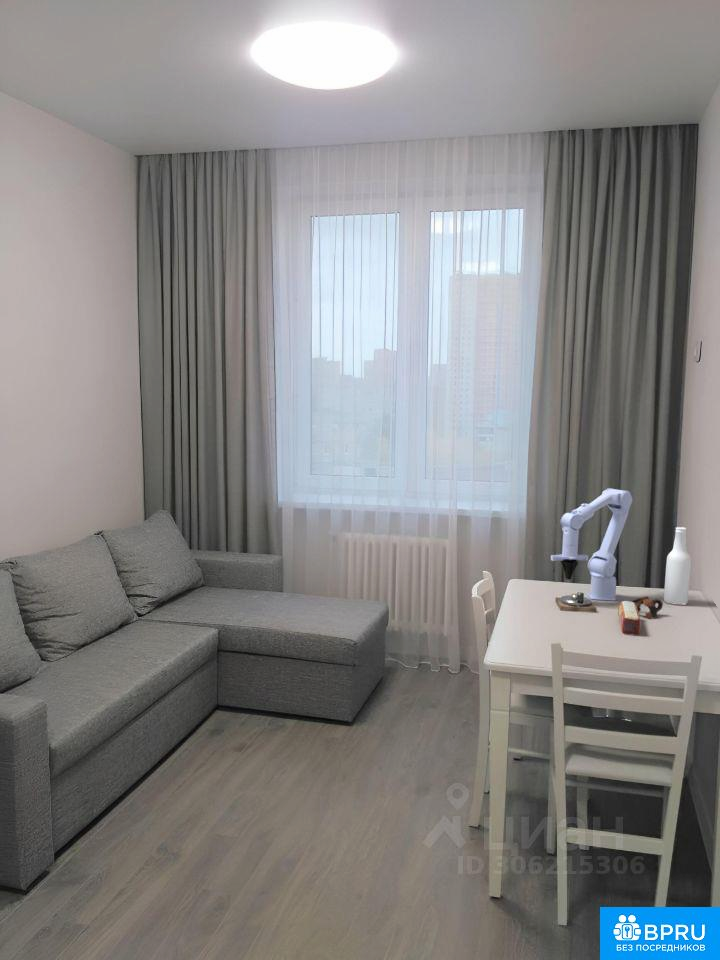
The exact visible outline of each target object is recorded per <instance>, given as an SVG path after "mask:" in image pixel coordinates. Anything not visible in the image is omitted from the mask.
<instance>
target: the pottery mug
mask: <svg viewBox="0 0 720 960" xmlns="http://www.w3.org/2000/svg"><path fill="white" fill-rule="evenodd" d="M630 602H634V603H635V604H636V605H637V609H638V613H640V612H641V610H642V609H641V605H642V604H643V605H644V606H645V607H647V608H648V610H649V611H648V612H645V613H644V614H645V616H646V619H647V618H650V619H653V618H657V617H658V613H659V611H660V610H662V608H663V606H664V603H663V601H662V599H659V598H655V599H650V598H649V595H646V596H645V595H644V596H642V597H638V598H636V599H632V600H630ZM656 604H657V606H656Z"/></svg>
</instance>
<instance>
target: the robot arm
mask: <svg viewBox="0 0 720 960" xmlns="http://www.w3.org/2000/svg"><path fill="white" fill-rule="evenodd" d="M633 500H634V499H633V497H632V495H631V492H630V491H629V490H621V489H615V488H611V487H608V488H606V489H605V490H603V491H602V493H601V495H599V496H598V497H597V498H596V499H594V500H593V501H591V502H590V503H582V504H580V506H579V507H577V508H575V509H573V510H572V511H571V512H565V513H564V514H563V515H562V516H561V518H560V522H559V523H560V525H561V530H562V546H561V547H562V549H561V554H560V553H559V554H551V555H550V561H552V562H557V561H560V563H561V565H562V568H563V571H564V575H565V579H566V580H572V577H573V574H574V571H575V570H576V568H577V567H578V565H579V562H578V561H588V562H587V570H588V571H589V574H590V575H591V577H590V591H589V593H587V596H588V597H589V599H590V600H596V601H597V600H598V601H601V600H602V601H616V593H617V578H616V576H613V575H614V574H615V572H616V565H617V562H618V561H617V559H616V557H615V556H614V553H615V551H616V548H617V545H618V543H619V540H620V539H621V538H620V537H621V535H622V532H623V530H624V526H625V523H626V521H627V518H628V516H629V512H630V508H631V506H632V503H633ZM605 506H607V507H608V508H609V510H610V511H611V512H612V516H611V519H610V521H609V524H608V526H607V529H606V531H605V535H604V537H603V540H602V542H601V545H600V547H599V550H597V551H596V552H593V554H592V556H591V558H590V559H589V555H587V554H578V549H579V548H578V547H579V533H580V532H579V530H580V529H581V528H582V527H583V524H584V523H585V522H586V521H587V520H589V519H591V518H593V516H594V515H595V512H596V511H598V510H601V508H603V507H605Z"/></svg>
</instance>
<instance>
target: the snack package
mask: <svg viewBox="0 0 720 960" xmlns="http://www.w3.org/2000/svg"><path fill="white" fill-rule="evenodd" d="M630 601H631V600H630ZM630 601H629V600H623V601H620V602H619V603H618V607H617V616H618V620H619V621H618V622H619V624H620V628H621V632H622V634H624V635H629V634H634V635H633V636H636V635H635V634H637V635H639V633H640V632H641V629H642V620H641V617H640V614H639V613H640V612H638V609H637V605H636V604H635V603H634V602H630Z"/></svg>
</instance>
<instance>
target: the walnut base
mask: <svg viewBox="0 0 720 960" xmlns="http://www.w3.org/2000/svg"><path fill="white" fill-rule="evenodd" d="M555 603H556V605H557V607H558V608H559V610H560V611H565V612H566V611H568V612H580V613H581V612H583V613H584V612H585V613H597V608H596V606H595V604H594V603H593V601H591V604H590V605H588V606H572V605H567V604H564V603H562V602H561V597H555Z"/></svg>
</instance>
